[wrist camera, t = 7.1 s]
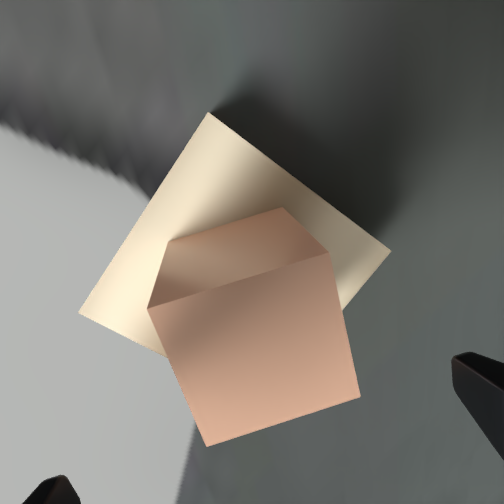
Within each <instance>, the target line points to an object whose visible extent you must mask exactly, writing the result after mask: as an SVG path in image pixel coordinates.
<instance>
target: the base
mask: <svg viewBox="0 0 504 504" xmlns="http://www.w3.org/2000/svg"><path fill="white" fill-rule="evenodd" d="M280 207H283V208H284V209H285V210H286V211H287V212H288V213H289V214H290V215H291V216H292V217H293V218H294V219H295V220H297V221H298V222H299V223H300V224H301V225H302V226H303V227H304V228H305V229H306V230H307V231H308V232H309V233H310V234H311V235H312V236H313V237H314V238H315V239H316V240H317V241H318V242H319V243H320V244H321V245H322V246H323V247H324V248H325V249H326V250H327V251H328V252H329V254H330V258H331V263H332V267H333V272H334V277H335V281H336V286H337V290H338V295H339V300H340V304H341V309H342V310H343V309H344V307H345V306H346V305H347V304H348V303H349V301H350V300H351V299H352V298H353V296H354V295H355V294H356V293H357V292H358V290H359V289H360V288H361V287H362V286H363V284H364V283H365V282H366V281H367V280H368V278H369V277H370V276H371V275H372V274H373V272H374V271H375V270H376V269H377V268H378V266H379V265H380V264H381V263H382V262H383V260H384V259H385V258H386V257H387V256H388V254H389V253H390V252H391V250H389V249H388V248H387V247H385V246H384V245H383V244H382V243H380V242H379V241H378V240H376V239H375V238H374V237H372V236H371V235H370V234H368V233H367V232H366V231H364V230H363V229H362V228H360V227H359V226H358V225H356V224H355V223H354V222H353V221H351V220H350V219H349V218H347V217H346V216H345V215H343V214H342V213H341V212H339V211H338V210H337V209H335V208H334V207H333V206H331V205H330V204H329V203H327V202H326V201H325V200H323V199H322V198H321V197H320V196H318V195H317V194H316V193H314V192H313V191H312V190H310V189H309V188H308V187H306V186H305V185H304V184H302V183H301V182H300V181H298V180H297V179H296V178H294V177H293V176H292V175H291V174H289V173H288V172H287V171H285V170H284V169H283V168H281V167H280V166H279V165H277V164H276V163H275V162H273V161H272V160H271V159H269V158H268V157H267V156H265V155H264V154H263V153H262V152H260V151H259V150H258V149H256V148H255V147H254V146H252V145H251V144H250V143H248V142H247V141H246V140H244V139H243V138H242V137H240V136H239V135H238V134H236V133H235V132H234V131H232V130H231V129H230V128H229V127H227V126H226V125H225V124H223V123H222V122H221V121H219V120H218V119H217V118H215V117H214V116H213V115H211V114H210V113H209V112H208V113H207V115H206V116H205V118H204V119H203V121H202V122H201V124H200V125H199V127H198V128H197V130H196V132H195V133H194V135H193V136H192V138H191V139H190V141H189V142H188V144H187V145H186V147H185V148H184V150H183V152H182V153H181V155H180V156H179V158H178V159H177V161H176V162H175V164H174V165H173V167H172V169H171V170H170V172H169V173H168V175H167V176H166V178H165V179H164V181H163V182H162V184H161V186H160V187H159V189H158V190H157V192H156V193H155V195H154V196H153V198H152V199H151V201H150V202H149V204H148V206H147V207H146V209H145V210H144V212H143V213H142V215H141V217H140V218H139V219H138V221H137V223H136V224H135V226H134V227H133V229H132V230H131V232H130V233H129V235H128V236H127V238H126V240H125V241H124V243H123V244H122V246H121V247H120V249H119V250H118V252H117V254H116V255H115V256H114V258H113V260H112V261H111V263H110V264H109V266H108V267H107V269H106V270H105V272H104V273H103V275H102V277H101V278H100V280H99V281H98V283H97V284H96V286H95V287H94V289H93V291H92V292H91V294H90V296H89V297H88V298H87V300H86V301H85V303H84V304H83V306H82V307H81V309H80V311H79V312H78V313H80V314H82V315H83V316H85V317H87V318H89V319H91V320H93V321H95V322H97V323H99V324H101V325H103V326H105V327H107V328H109V329H111V330H113V331H115V332H117V333H119V334H121V335H123V336H125V337H127V338H129V339H131V340H133V341H135V342H137V343H139V344H141V345H143V346H145V347H147V348H149V349H151V350H153V351H155V352H157V353H159V354H161V355H163V356H165V357H167V355H166V353H165V350H164V348H163V346H162V343H161V341H160V339H159V336H158V334H157V332H156V330H155V327H154V325H153V323H152V320H151V318H150V316H149V313H148V311H147V306H148V303H149V300H150V297H151V294H152V291H153V287H154V284H155V281H156V278H157V275H158V272H159V269H160V265H161V262H162V259H163V256H164V253H165V250H166V247H167V243H168V242H169V241H172V240H176V239H179V238H182V237H185V236H189V235H192V234H195V233H198V232H202V231H205V230H208V229H211V228H215V227H218V226H221V225H224V224H228V223H231V222H234V221H238V220H241V219H244V218H247V217H251V216H254V215H257V214H260V213H264V212H267V211H270V210H273V209H277V208H280ZM167 358H168V357H167Z"/></svg>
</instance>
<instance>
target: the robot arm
mask: <svg viewBox="0 0 504 504" xmlns="http://www.w3.org/2000/svg"><path fill="white" fill-rule="evenodd" d="M451 364H452V380H453V387H454V390H455V392H456V394H457V395H458V397H459V398H460V400H461V401H462V403H463V404H464V405H465V407H466V408H467V410H468V411H469V413H470V414H471V415H472V417H473V418H474V420H475V421H476V422H477V424H478V425H479V427H480V428H481V430H482V431H483V432H484V434H485V435H486V437H487V438H488V440H489V441H490V442H491V444H492V445H493V447H494V448H495V449H496V451H497V452H498V453H499V455H500V456H501V457H502V459H503V460H504V363H502V362H499V361H496V360H493V359H491V358H488V357H485V356H482V355H479V354H476V353H473V352H465V353H462V354H459V355H455V356H454V357H453V358H452V360H451ZM22 504H81V502H80V498H79V497H78V495H77V493H76V492H75V490H74V488H73V487H72V485H71V483H70V482H69V480H68V478H67V477H66V476H64V475H58V476H55V477H52V478H49V479H46V480H44V481H43V482H41V483H40V484H39V486H38V487H37V488H36V489H35V490H34V491H33V492H32V493H31V495H30V496H29V497H28V498H27V499H26V500H25V501H24V502H23V503H22Z"/></svg>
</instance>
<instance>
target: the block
mask: <svg viewBox="0 0 504 504" xmlns="http://www.w3.org/2000/svg"><path fill="white" fill-rule="evenodd" d="M147 311H148V313H149V316H150V318H151V320H152V323H153V325H154V327H155V330H156V332H157V334H158V336H159V339H160V341H161V343H162V346H163V348H164V350H165V353H166V355H167V357H168V359H169V361H170V364H171V366H172V369H173V371H174V373H175V375H176V378H177V380H178V382H179V385H180V387H181V389H182V392H183V394H184V396H185V398H186V401H187V403H188V405H189V408H190V410H191V412H192V414H193V417H194V419H195V421H196V424H197V426H198V428H199V431H200V433H201V435H202V437H203V440H204V442H205V444H206V447H208V446H211V445H214V444H217V443H220V442H223V441H226V440H229V439H233V438H236V437H239V436H242V435H245V434H248V433H251V432H254V431H257V430H260V429H263V428H266V427H269V426H273V425H276V424H279V423H282V422H285V421H288V420H291V419H294V418H297V417H300V416H303V415H306V414H309V413H313V412H316V411H319V410H322V409H325V408H328V407H331V406H334V405H337V404H340V403H343V402H346V401H349V400H353V399H356V398H359V397H361V396H360V392H359V387H358V383H357V378H356V373H355V369H354V364H353V360H352V355H351V350H350V346H349V341H348V336H347V332H346V327H345V323H344V318H343V313H342V309H341V304H340V300H339V295H338V290H337V286H336V281H335V277H334V272H333V267H332V263H331V258H330V254H329V252H328V251H327V250H326V249H325V248H324V247H323V246H322V245H321V244H320V243H319V242H318V241H317V240H316V239H315V238H314V237H313V236H312V235H311V234H310V233H309V232H308V231H307V230H306V229H305V228H304V227H303V226H302V225H301V224H300V223H299V222H298V221H297V220H295V219H294V218H293V217H292V216H291V215H290V214H289V213H288V212H287V211H286V210H285V209H284V208H283V207H280V208H277V209H273V210H270V211H267V212H264V213H260V214H257V215H254V216H251V217H247V218H244V219H241V220H238V221H234V222H231V223H228V224H224V225H221V226H218V227H215V228H211V229H208V230H205V231H202V232H198V233H195V234H192V235H189V236H185V237H182V238H179V239H176V240H172V241H169V242H168V243H167V247H166V250H165V253H164V256H163V259H162V262H161V265H160V269H159V272H158V275H157V278H156V281H155V284H154V287H153V291H152V294H151V297H150V300H149V303H148V306H147Z"/></svg>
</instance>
